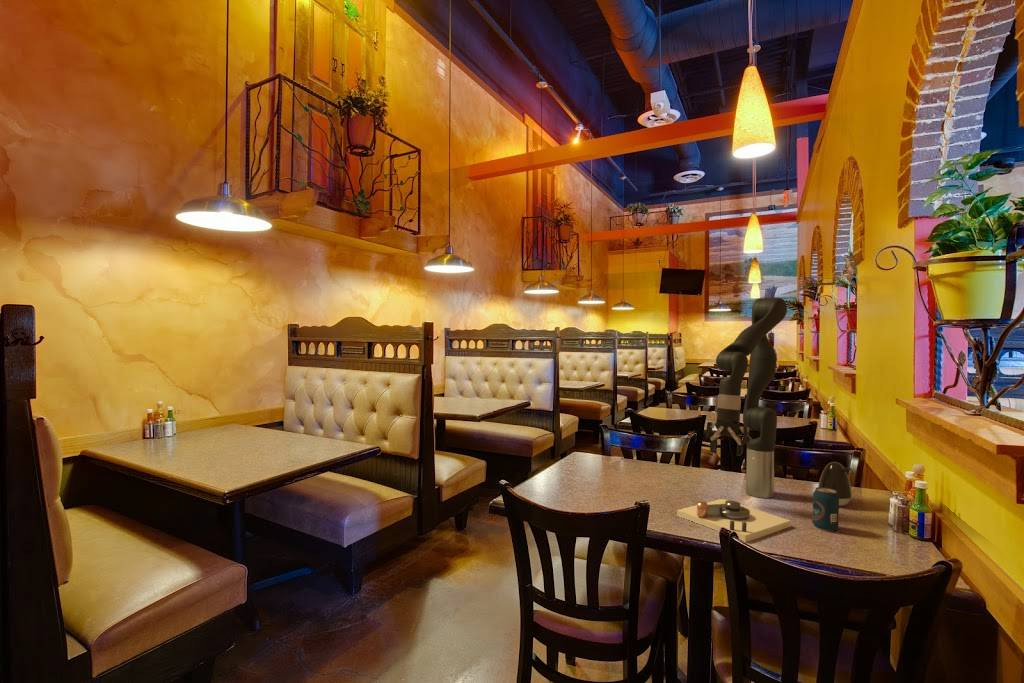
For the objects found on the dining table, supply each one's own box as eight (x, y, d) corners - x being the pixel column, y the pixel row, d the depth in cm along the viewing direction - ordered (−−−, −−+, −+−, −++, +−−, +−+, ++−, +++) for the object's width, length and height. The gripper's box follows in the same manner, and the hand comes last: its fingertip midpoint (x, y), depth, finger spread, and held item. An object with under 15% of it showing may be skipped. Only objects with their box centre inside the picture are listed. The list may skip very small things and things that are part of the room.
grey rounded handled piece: (735, 507, 164) (736, 495, 164) (756, 518, 155) (757, 505, 155) (688, 510, 161) (689, 498, 161) (707, 521, 151) (707, 508, 151)
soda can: (807, 524, 158) (808, 486, 157) (827, 523, 158) (828, 486, 158) (822, 532, 151) (823, 493, 151) (843, 532, 151) (844, 493, 151)
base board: (721, 504, 175) (722, 491, 175) (790, 526, 155) (790, 512, 155) (677, 516, 162) (677, 502, 162) (745, 542, 142) (745, 527, 142)
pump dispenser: (840, 510, 171) (841, 466, 171) (811, 501, 180) (812, 459, 180) (858, 506, 175) (859, 464, 175) (829, 498, 185) (830, 457, 185)
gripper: (753, 410, 173) (750, 456, 172) (712, 405, 183) (709, 449, 182) (746, 410, 167) (743, 458, 167) (704, 405, 177) (701, 450, 176)
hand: (725, 453), depth 174 cm, fingers open, 8 cm apart
